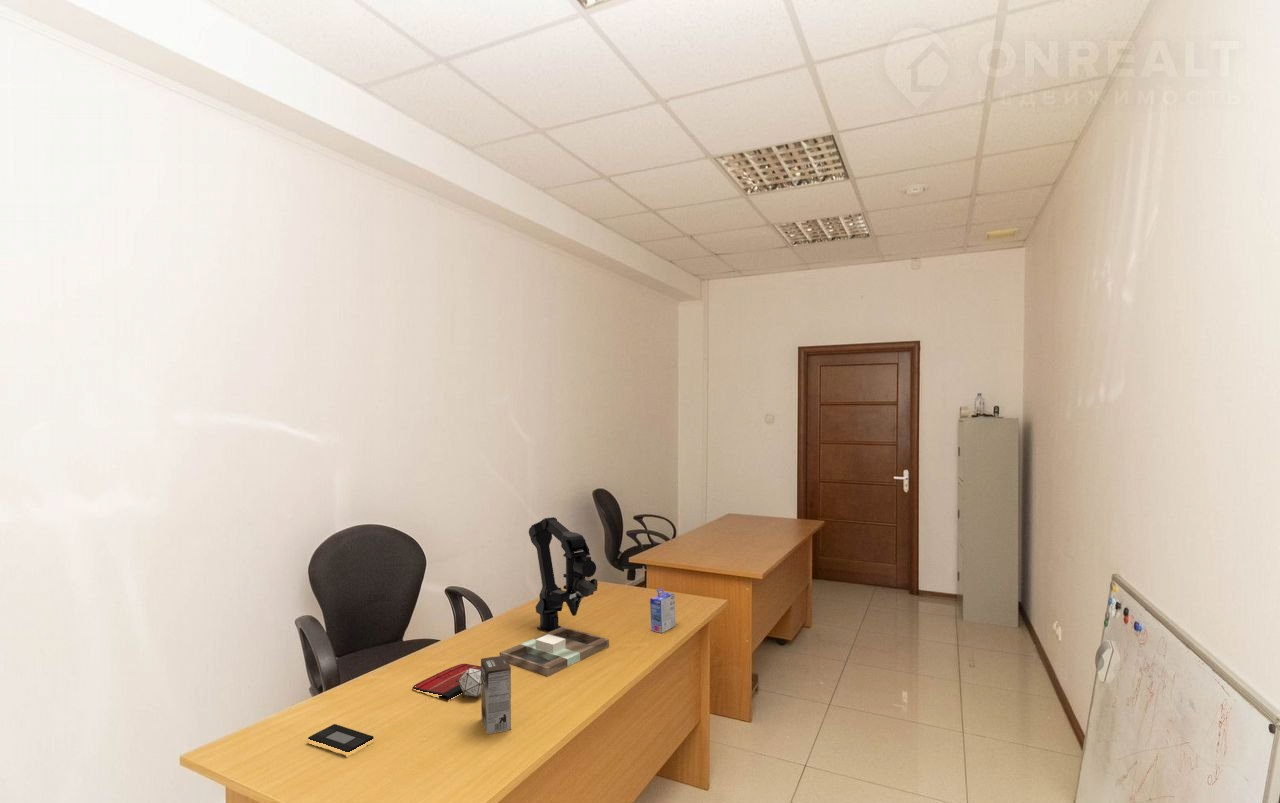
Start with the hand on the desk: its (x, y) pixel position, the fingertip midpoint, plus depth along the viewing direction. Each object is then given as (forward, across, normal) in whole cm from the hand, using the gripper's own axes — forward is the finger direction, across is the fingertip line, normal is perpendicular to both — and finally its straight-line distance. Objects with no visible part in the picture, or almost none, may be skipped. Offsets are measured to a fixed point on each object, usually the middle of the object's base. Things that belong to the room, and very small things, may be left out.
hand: (574, 615), depth 221 cm
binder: (+10, -45, +7) cm, 46 cm away
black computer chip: (+10, -83, +1) cm, 84 cm away
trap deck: (+10, -11, -2) cm, 14 cm away
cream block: (+7, -13, -2) cm, 15 cm away
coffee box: (+10, -54, -23) cm, 60 cm away
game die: (+10, -48, -5) cm, 49 cm away
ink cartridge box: (+10, +31, -17) cm, 36 cm away
